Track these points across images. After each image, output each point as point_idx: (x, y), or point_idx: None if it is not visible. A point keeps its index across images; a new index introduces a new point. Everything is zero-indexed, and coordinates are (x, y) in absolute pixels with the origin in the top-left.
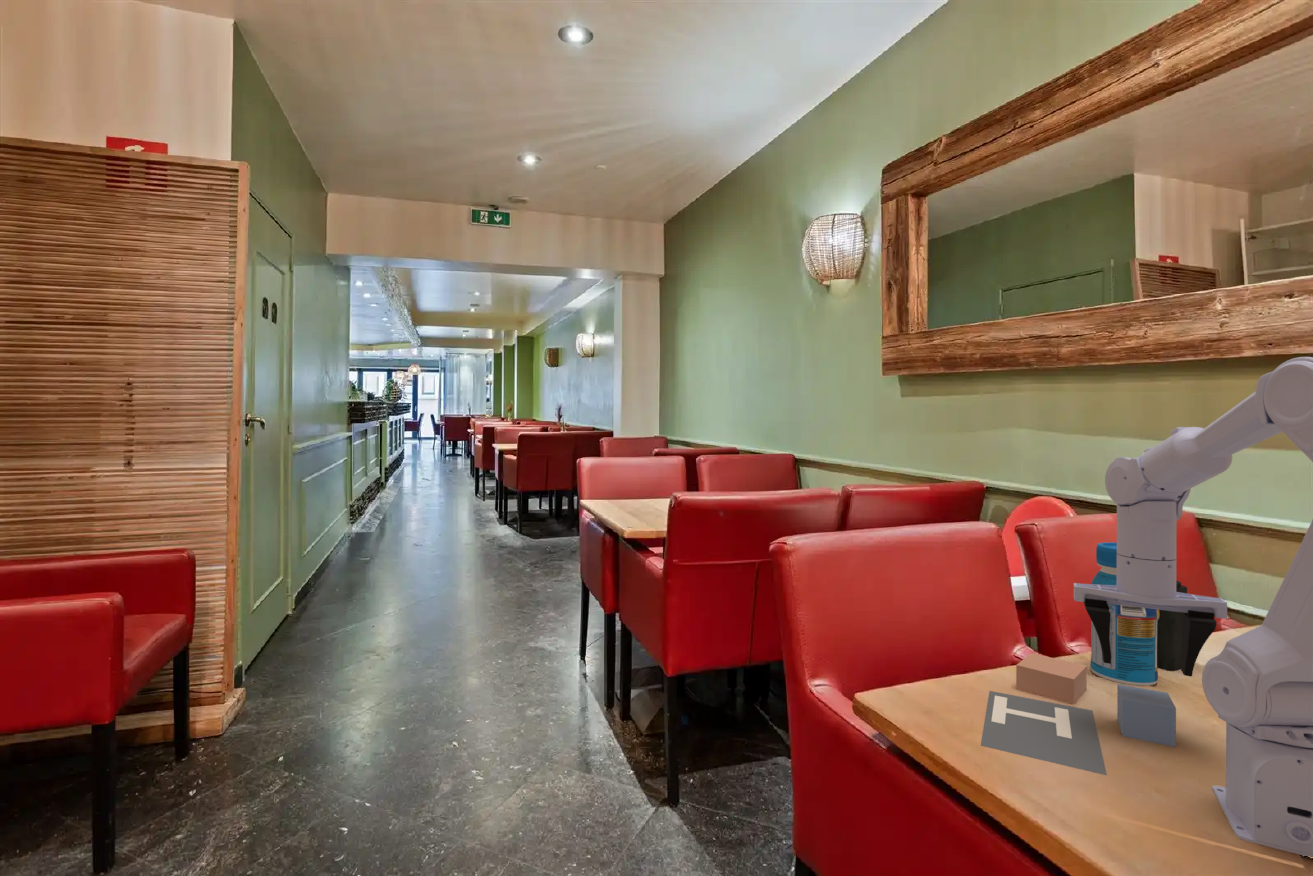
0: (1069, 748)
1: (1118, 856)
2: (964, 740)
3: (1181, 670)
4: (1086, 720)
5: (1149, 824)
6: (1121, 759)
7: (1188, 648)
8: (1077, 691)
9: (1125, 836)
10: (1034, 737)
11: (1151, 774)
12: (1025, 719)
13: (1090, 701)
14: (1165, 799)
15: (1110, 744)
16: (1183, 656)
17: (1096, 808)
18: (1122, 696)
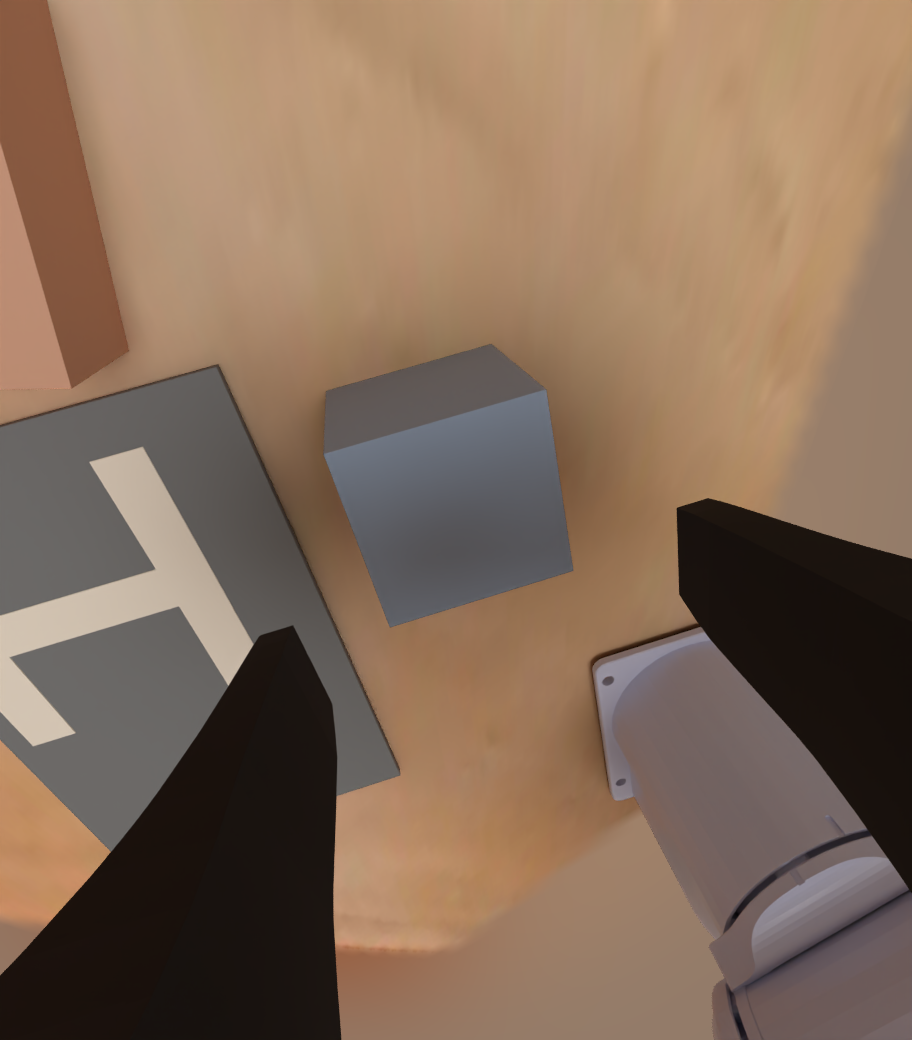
0: None
1: (462, 927)
2: (69, 855)
3: (678, 521)
4: (243, 499)
5: (490, 842)
6: (405, 663)
7: (818, 761)
8: (86, 278)
9: (463, 889)
10: (190, 741)
11: (475, 682)
12: (92, 654)
13: (143, 187)
14: (508, 756)
15: (359, 599)
16: (748, 612)
17: (410, 863)
18: (384, 605)
